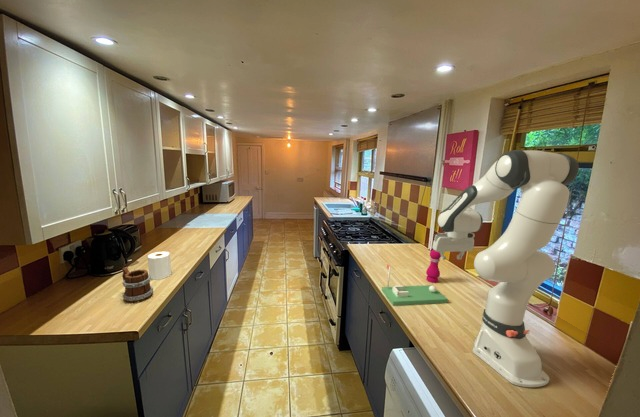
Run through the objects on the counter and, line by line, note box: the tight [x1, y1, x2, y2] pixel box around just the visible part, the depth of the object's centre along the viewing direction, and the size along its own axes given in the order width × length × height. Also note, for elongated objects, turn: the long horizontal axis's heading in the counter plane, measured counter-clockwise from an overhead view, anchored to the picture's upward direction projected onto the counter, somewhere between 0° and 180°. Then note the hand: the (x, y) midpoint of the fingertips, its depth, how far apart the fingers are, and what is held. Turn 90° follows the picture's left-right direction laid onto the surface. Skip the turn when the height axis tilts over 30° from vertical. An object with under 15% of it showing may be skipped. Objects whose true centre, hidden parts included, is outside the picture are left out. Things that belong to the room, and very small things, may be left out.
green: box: [381, 263, 449, 306], centre depth 130 cm, size 16×28×14 cm, turn 98°
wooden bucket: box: [121, 267, 154, 304], centre depth 121 cm, size 12×14×15 cm
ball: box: [429, 285, 437, 292], centre depth 132 cm, size 3×3×3 cm
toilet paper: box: [147, 251, 172, 280], centre depth 142 cm, size 10×10×12 cm
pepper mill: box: [425, 249, 441, 284], centre depth 148 cm, size 7×7×20 cm
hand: (451, 259), depth 130 cm, fingers open, 7 cm apart
